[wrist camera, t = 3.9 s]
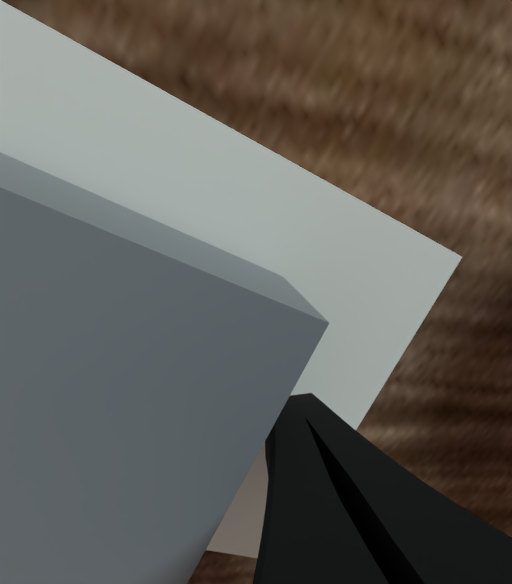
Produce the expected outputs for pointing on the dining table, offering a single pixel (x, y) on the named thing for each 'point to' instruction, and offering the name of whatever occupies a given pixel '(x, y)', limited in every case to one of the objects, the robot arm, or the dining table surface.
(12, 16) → the socket plate
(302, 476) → the robot arm
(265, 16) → the dining table surface
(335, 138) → the dining table surface
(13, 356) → the grey cover
